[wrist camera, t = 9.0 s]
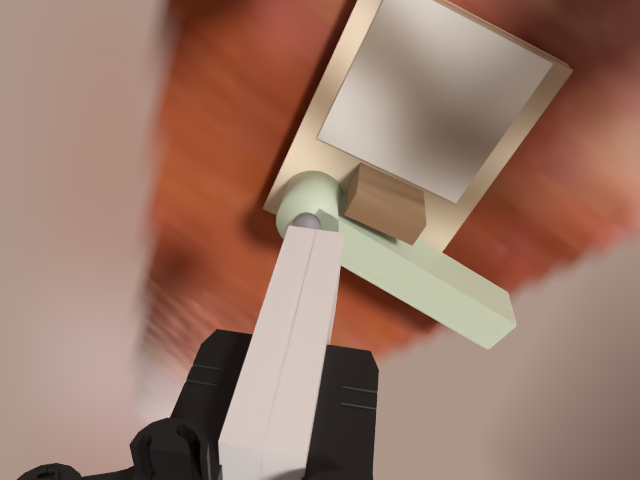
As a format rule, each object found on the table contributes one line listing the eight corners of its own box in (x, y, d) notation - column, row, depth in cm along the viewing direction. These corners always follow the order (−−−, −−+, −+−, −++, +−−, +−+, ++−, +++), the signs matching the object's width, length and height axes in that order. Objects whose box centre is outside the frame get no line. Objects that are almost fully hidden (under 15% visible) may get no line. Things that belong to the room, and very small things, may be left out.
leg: (275, 203, 27) (262, 237, 24) (304, 159, 25) (293, 191, 23) (476, 321, 29) (484, 363, 27) (513, 287, 28) (525, 329, 25)
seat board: (374, -38, 22) (370, -23, 18) (565, 62, 23) (595, 94, 20) (267, 197, 28) (249, 241, 25) (421, 266, 30) (424, 317, 26)
